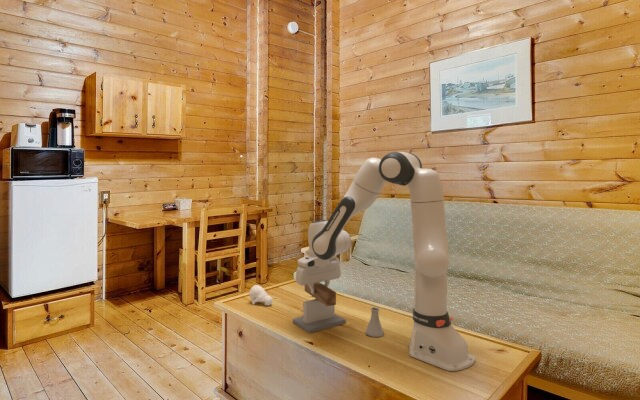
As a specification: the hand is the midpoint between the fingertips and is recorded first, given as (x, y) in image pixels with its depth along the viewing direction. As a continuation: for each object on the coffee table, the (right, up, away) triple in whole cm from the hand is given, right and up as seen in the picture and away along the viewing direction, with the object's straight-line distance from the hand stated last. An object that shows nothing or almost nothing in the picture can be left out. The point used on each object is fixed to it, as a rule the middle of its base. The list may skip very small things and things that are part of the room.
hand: (319, 292), depth 159 cm
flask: (+22, -14, -10) cm, 28 cm away
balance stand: (0, -13, +1) cm, 13 cm away
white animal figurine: (-27, -12, +24) cm, 38 cm away
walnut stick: (0, -2, 0) cm, 2 cm away
